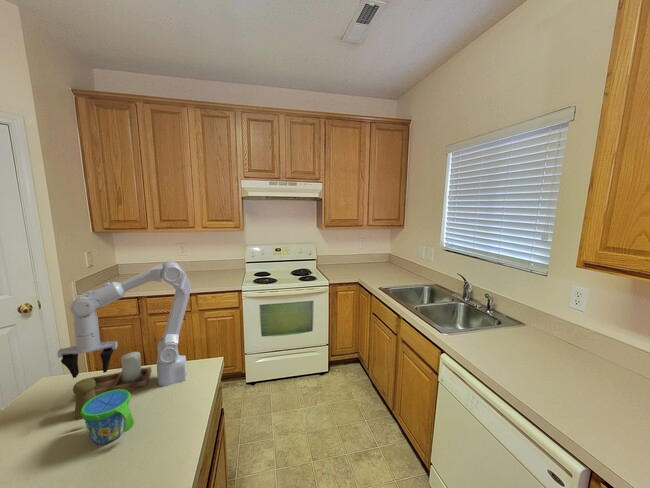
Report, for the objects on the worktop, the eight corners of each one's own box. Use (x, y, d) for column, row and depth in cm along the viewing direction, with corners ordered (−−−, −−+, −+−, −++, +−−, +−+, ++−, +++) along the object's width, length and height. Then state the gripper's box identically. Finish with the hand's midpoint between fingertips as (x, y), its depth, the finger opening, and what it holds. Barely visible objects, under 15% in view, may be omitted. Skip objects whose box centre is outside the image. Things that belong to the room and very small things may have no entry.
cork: (97, 404, 88) (94, 372, 86) (102, 413, 84) (99, 380, 82) (72, 415, 83) (68, 381, 82) (76, 425, 79) (72, 390, 78)
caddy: (151, 373, 105) (151, 366, 104) (146, 388, 96) (145, 381, 95) (89, 385, 97) (89, 377, 97) (77, 403, 88) (76, 395, 88)
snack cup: (147, 429, 78) (144, 396, 77) (106, 460, 68) (103, 423, 67) (112, 414, 84) (109, 383, 82) (69, 440, 74) (66, 406, 73)
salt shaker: (143, 375, 102) (141, 350, 101) (140, 384, 97) (138, 358, 96) (125, 379, 100) (123, 353, 98) (121, 388, 94) (118, 361, 93)
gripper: (119, 324, 92) (122, 362, 93) (63, 331, 86) (68, 371, 88) (112, 333, 85) (115, 373, 87) (51, 341, 80) (56, 384, 81)
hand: (91, 373), depth 87 cm, fingers open, 7 cm apart
